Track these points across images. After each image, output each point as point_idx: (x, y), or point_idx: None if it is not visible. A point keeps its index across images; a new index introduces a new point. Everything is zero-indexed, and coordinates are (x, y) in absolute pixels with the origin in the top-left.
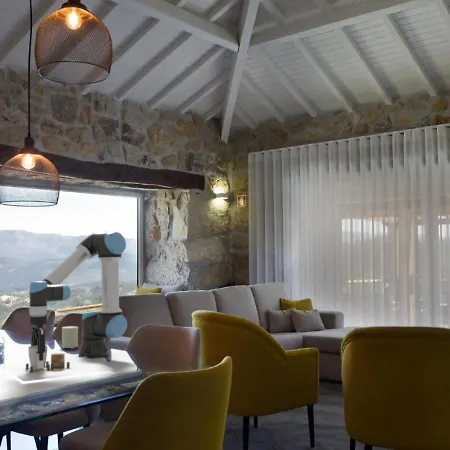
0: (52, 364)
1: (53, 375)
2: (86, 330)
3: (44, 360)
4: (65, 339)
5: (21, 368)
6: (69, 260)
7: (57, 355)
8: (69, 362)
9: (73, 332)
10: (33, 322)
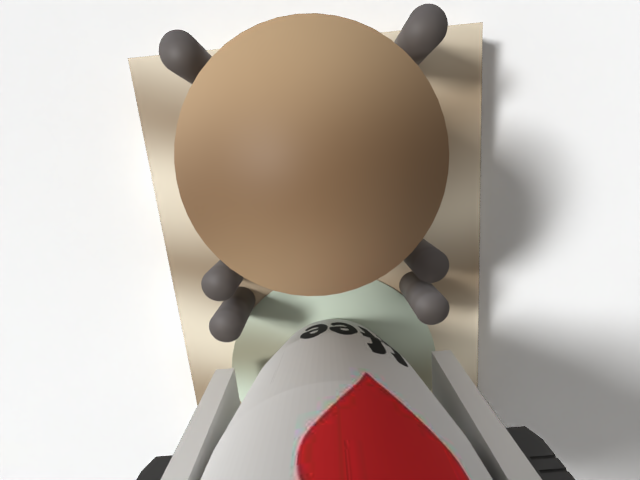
0: (448, 262)
1: (559, 256)
2: None
3: (421, 380)
4: None
5: (71, 440)
6: None
7: (440, 200)
8: (440, 10)
9: None
10: None
